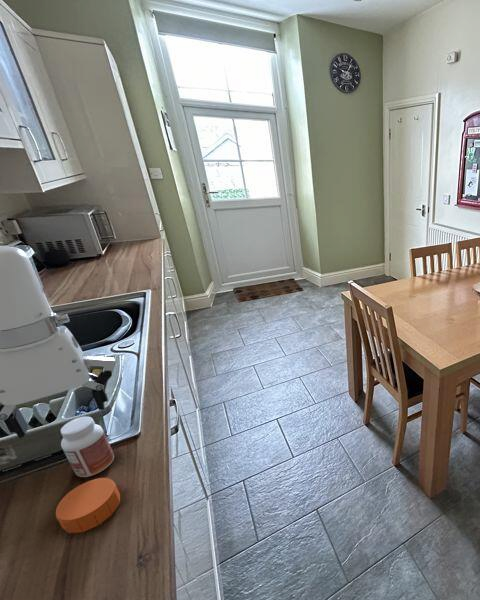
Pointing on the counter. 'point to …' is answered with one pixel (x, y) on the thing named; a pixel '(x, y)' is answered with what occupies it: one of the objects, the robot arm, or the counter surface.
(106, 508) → the cap
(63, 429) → the pill bottle
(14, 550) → the counter surface
